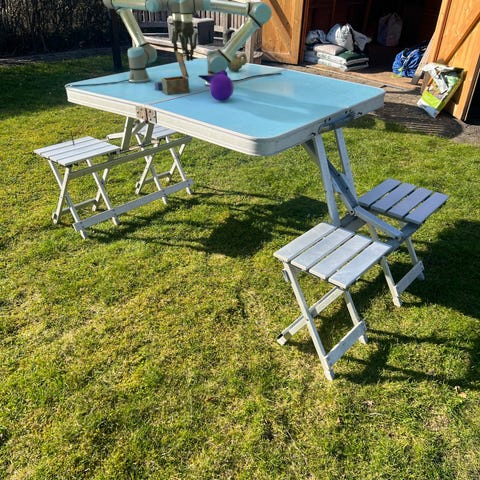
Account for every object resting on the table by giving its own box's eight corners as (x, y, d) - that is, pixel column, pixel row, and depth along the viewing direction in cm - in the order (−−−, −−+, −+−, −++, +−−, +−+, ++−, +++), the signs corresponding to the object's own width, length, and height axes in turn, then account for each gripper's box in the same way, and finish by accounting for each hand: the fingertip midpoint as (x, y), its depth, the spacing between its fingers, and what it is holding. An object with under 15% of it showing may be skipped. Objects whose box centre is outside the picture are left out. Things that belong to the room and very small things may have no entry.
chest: (167, 94, 298) (166, 80, 293) (162, 91, 307) (161, 78, 302) (189, 92, 303) (188, 78, 299) (184, 89, 312) (182, 75, 307)
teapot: (227, 73, 359) (226, 53, 351) (220, 71, 367) (219, 51, 360) (250, 70, 368) (249, 51, 360) (242, 68, 376) (242, 49, 369)
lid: (180, 53, 289) (192, 49, 291) (174, 51, 298) (186, 47, 300) (187, 78, 298) (199, 73, 300) (182, 75, 307) (193, 71, 309)
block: (158, 90, 310) (157, 83, 307) (155, 89, 313) (154, 82, 310) (164, 89, 312) (164, 82, 310) (161, 88, 315) (160, 81, 313)
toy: (220, 92, 299) (233, 106, 278) (195, 88, 292) (206, 102, 271) (226, 68, 291) (240, 80, 270) (200, 63, 284) (212, 75, 263)
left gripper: (174, 21, 308) (177, 54, 319) (189, 18, 328) (191, 49, 339) (164, 21, 310) (167, 54, 321) (180, 18, 330) (182, 49, 341)
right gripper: (177, 22, 282) (181, 62, 294) (199, 21, 287) (202, 60, 299) (174, 21, 288) (177, 60, 300) (195, 20, 293) (198, 59, 305)
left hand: (180, 52), depth 330 cm, fingers open, 13 cm apart
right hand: (189, 60), depth 299 cm, fingers closed on lid, 2 cm apart
